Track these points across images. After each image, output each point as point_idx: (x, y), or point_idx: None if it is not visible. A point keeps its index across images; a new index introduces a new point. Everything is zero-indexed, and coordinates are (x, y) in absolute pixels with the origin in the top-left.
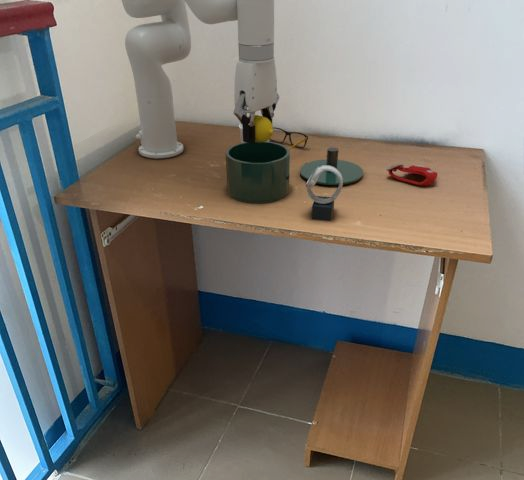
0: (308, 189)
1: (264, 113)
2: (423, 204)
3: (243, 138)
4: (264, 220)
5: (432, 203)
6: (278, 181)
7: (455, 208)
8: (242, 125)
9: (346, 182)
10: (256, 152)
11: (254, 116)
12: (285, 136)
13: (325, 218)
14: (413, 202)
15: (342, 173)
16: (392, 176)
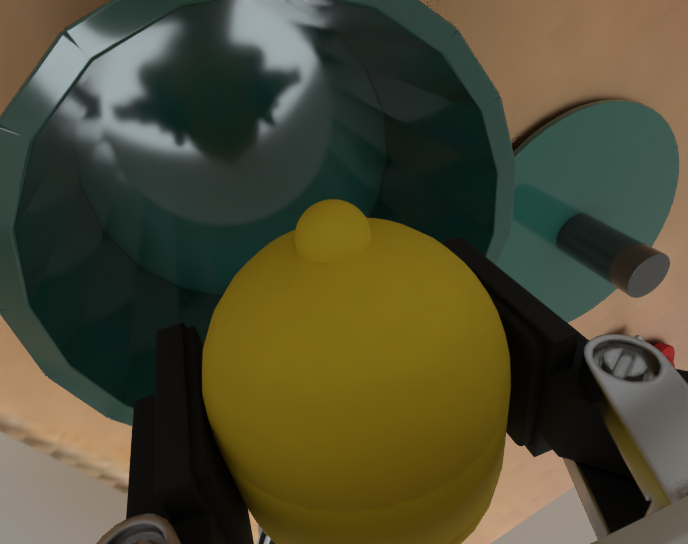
0: (260, 531)
1: (593, 417)
2: (504, 469)
3: (158, 352)
4: (84, 410)
5: (518, 470)
6: None
7: (519, 496)
8: (154, 470)
9: None
10: (407, 55)
11: (393, 520)
12: None
13: None
14: (503, 456)
15: (568, 273)
16: None
